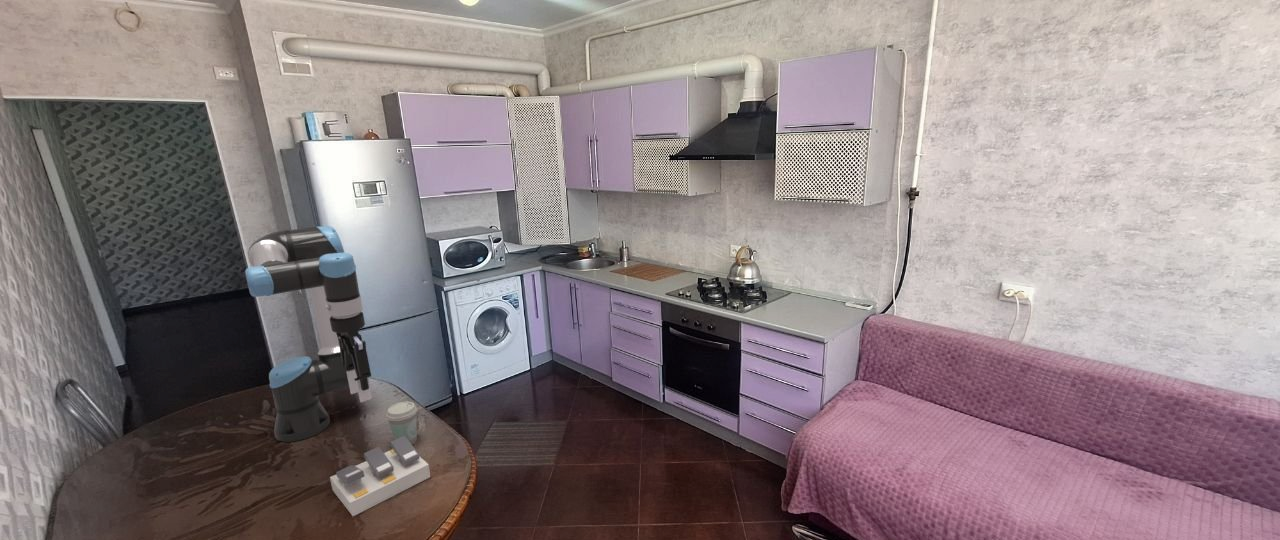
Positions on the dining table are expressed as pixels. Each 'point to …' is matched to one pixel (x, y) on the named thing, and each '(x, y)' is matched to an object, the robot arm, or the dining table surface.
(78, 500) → the dining table surface
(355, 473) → the switch
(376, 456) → the switch
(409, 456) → the switch
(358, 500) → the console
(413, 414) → the coffee cup
